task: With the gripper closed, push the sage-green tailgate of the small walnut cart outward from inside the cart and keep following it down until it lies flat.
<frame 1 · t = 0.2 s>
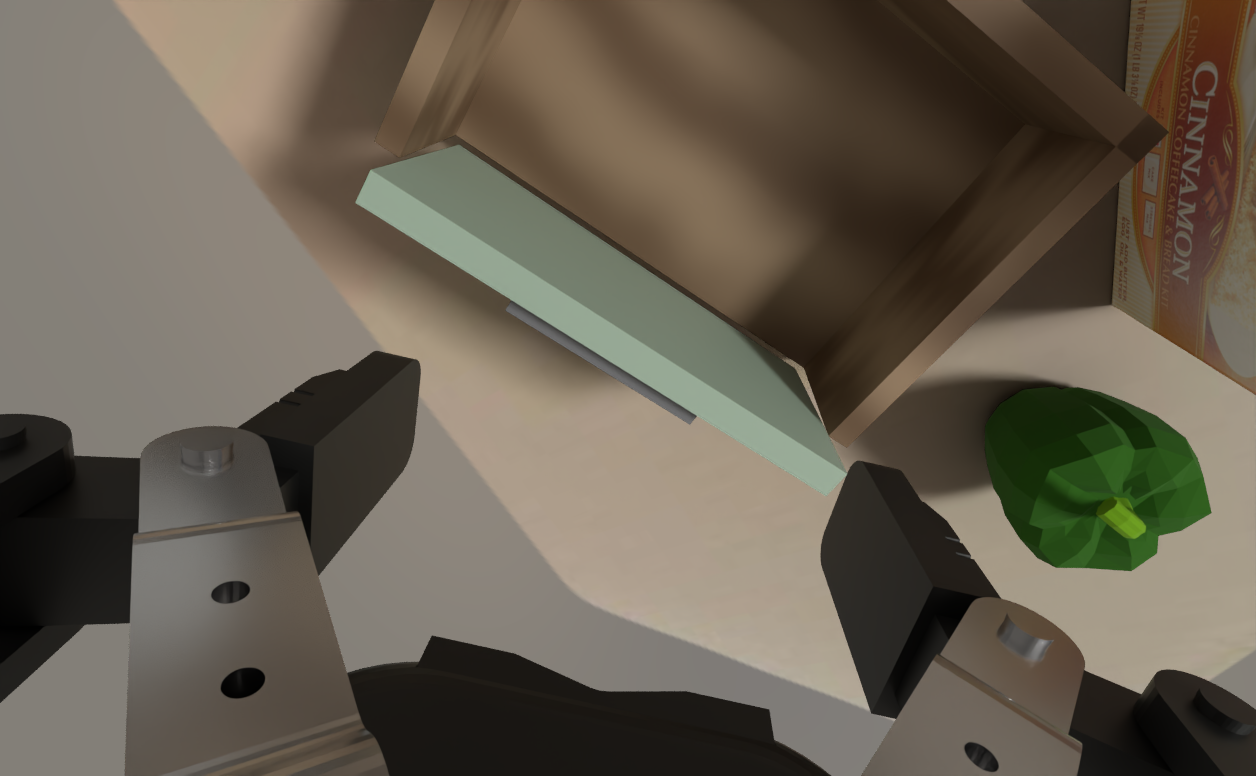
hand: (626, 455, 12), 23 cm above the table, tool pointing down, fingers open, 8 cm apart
bell pepper: (1038, 422, 37), on the table
cart: (729, 120, 30), on the table
tailgate: (621, 312, 27), point 8 cm above the table, hinge at -4.0°
coffeecake box: (1198, 140, 29), on the table
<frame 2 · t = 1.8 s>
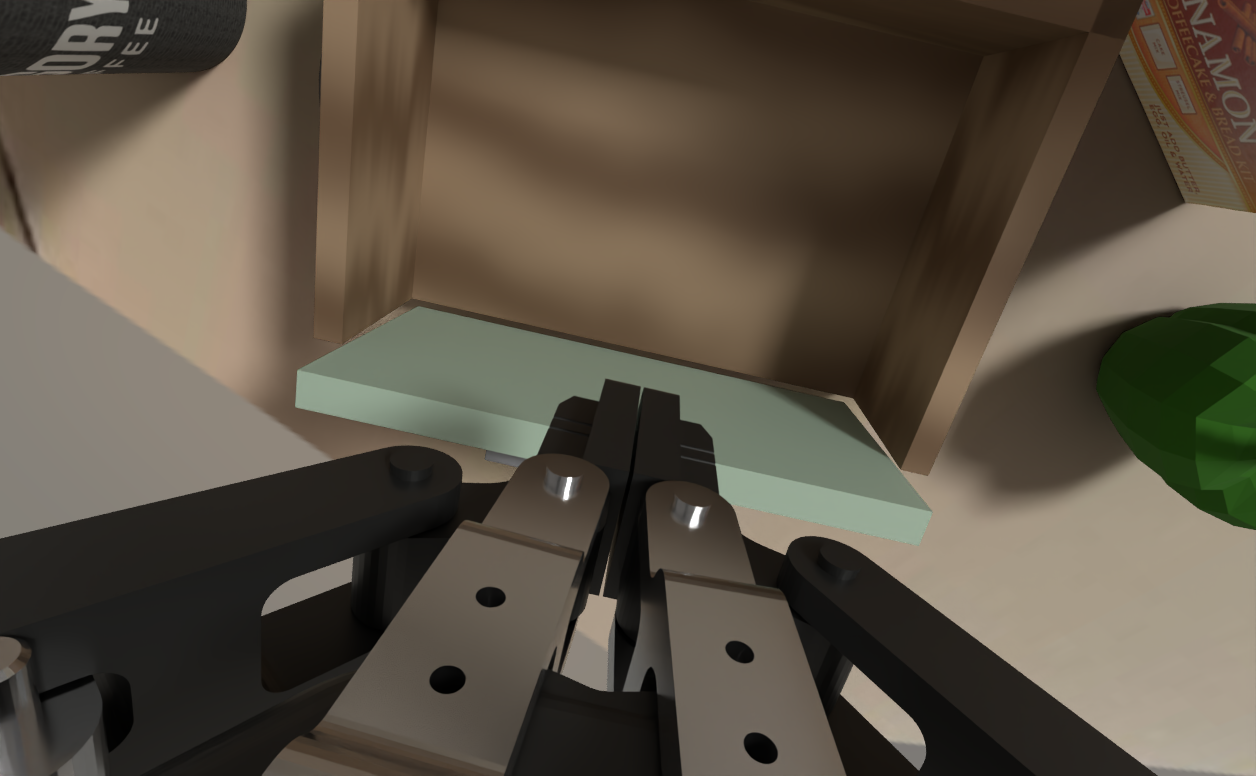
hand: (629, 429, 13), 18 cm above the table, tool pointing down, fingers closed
bell pepper: (1160, 362, 30), on the table
cart: (672, 180, 28), on the table
tailgate: (621, 414, 24), point 8 cm above the table, hinge at -4.0°
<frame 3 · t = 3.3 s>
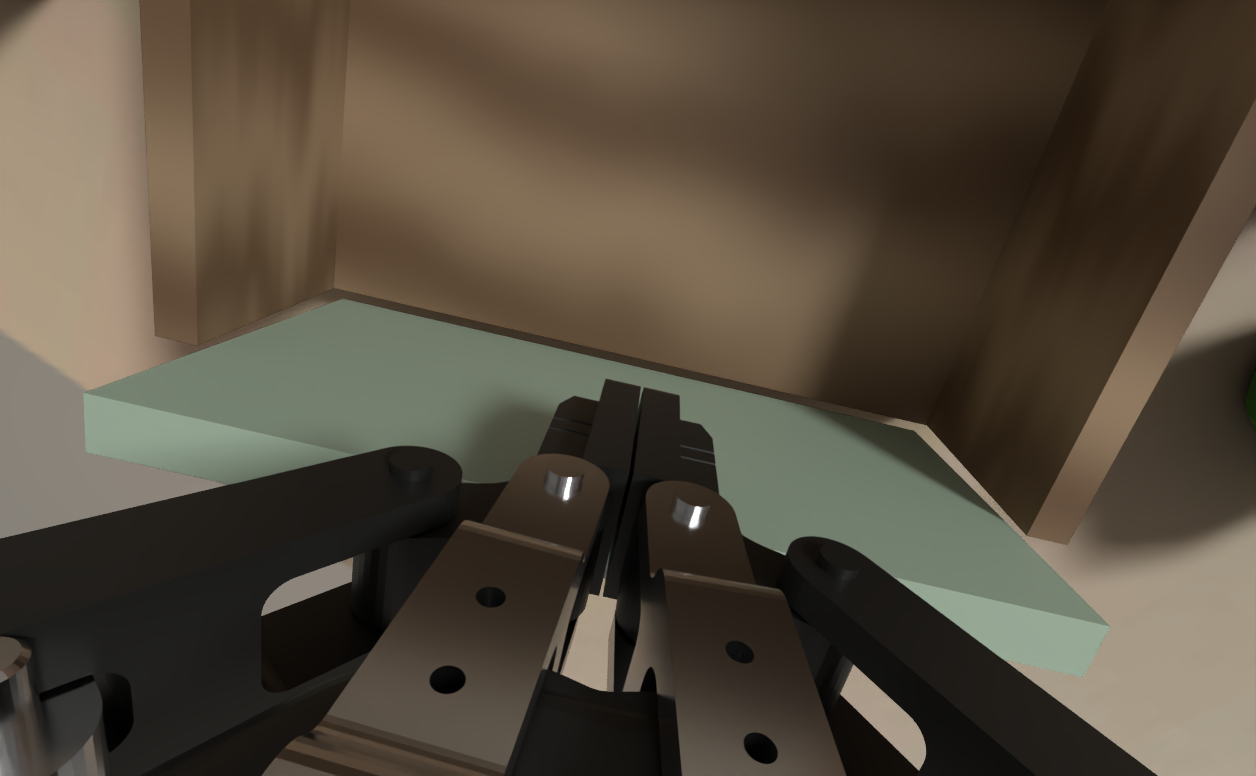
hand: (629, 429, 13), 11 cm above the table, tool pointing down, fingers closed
cart: (684, 131, 21), on the table
tailgate: (612, 452, 17), point 8 cm above the table, hinge at -3.0°, touching gripper
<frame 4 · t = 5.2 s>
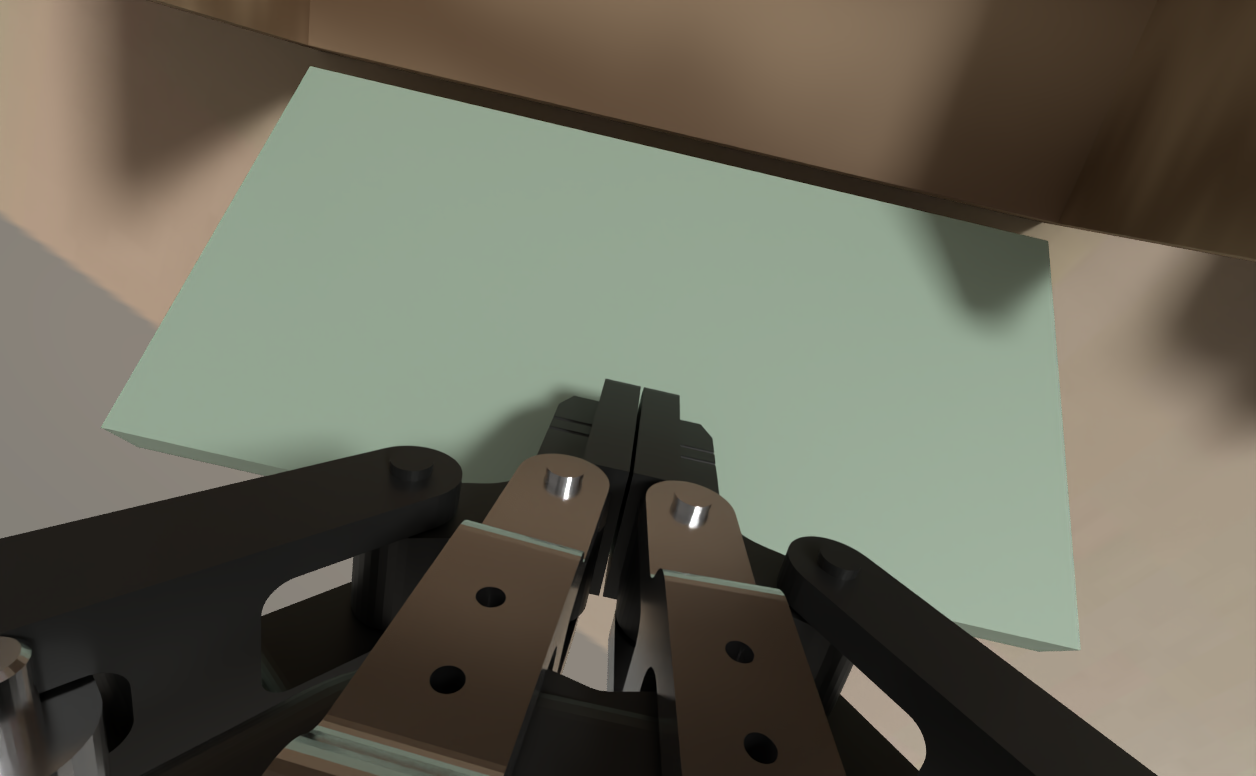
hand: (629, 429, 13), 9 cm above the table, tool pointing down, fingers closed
tailgate: (639, 340, 15), point 6 cm above the table, hinge at 45.9°, touching gripper
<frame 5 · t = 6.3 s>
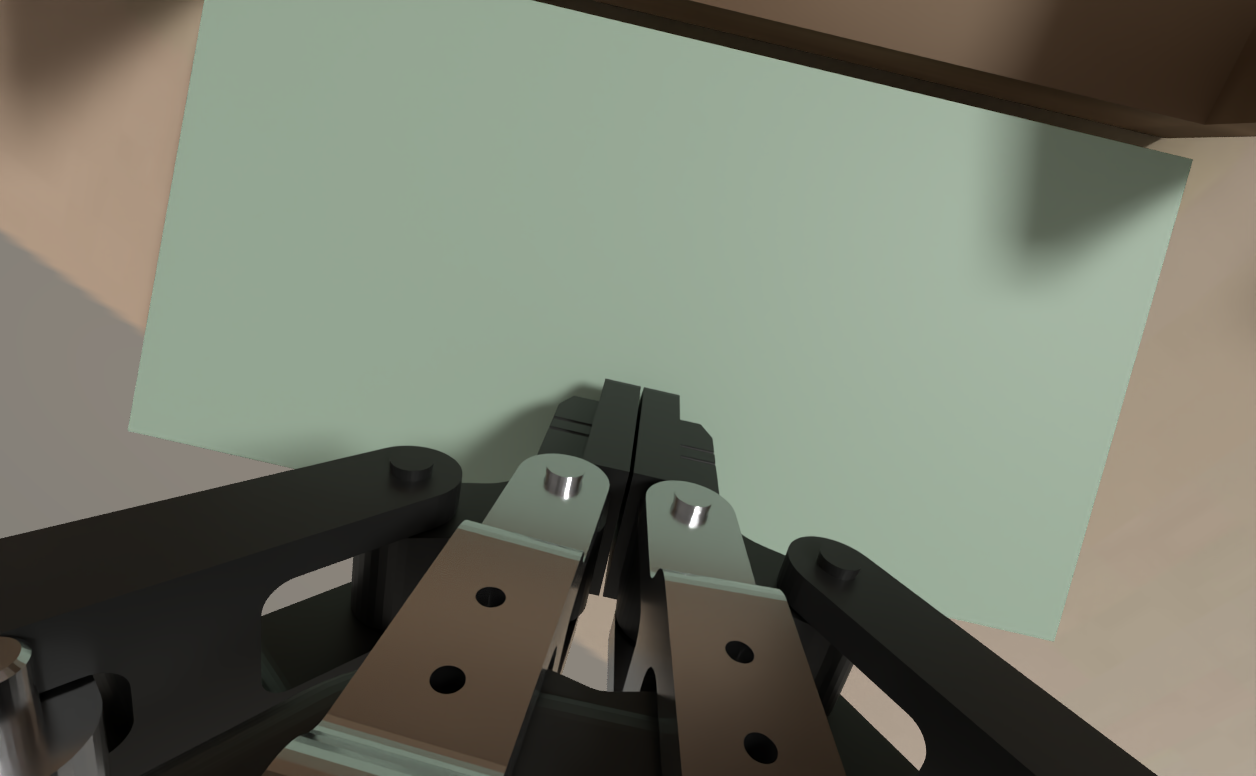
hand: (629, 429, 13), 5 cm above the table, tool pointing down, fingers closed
tailgate: (650, 300, 14), point 4 cm above the table, hinge at 73.4°, touching gripper
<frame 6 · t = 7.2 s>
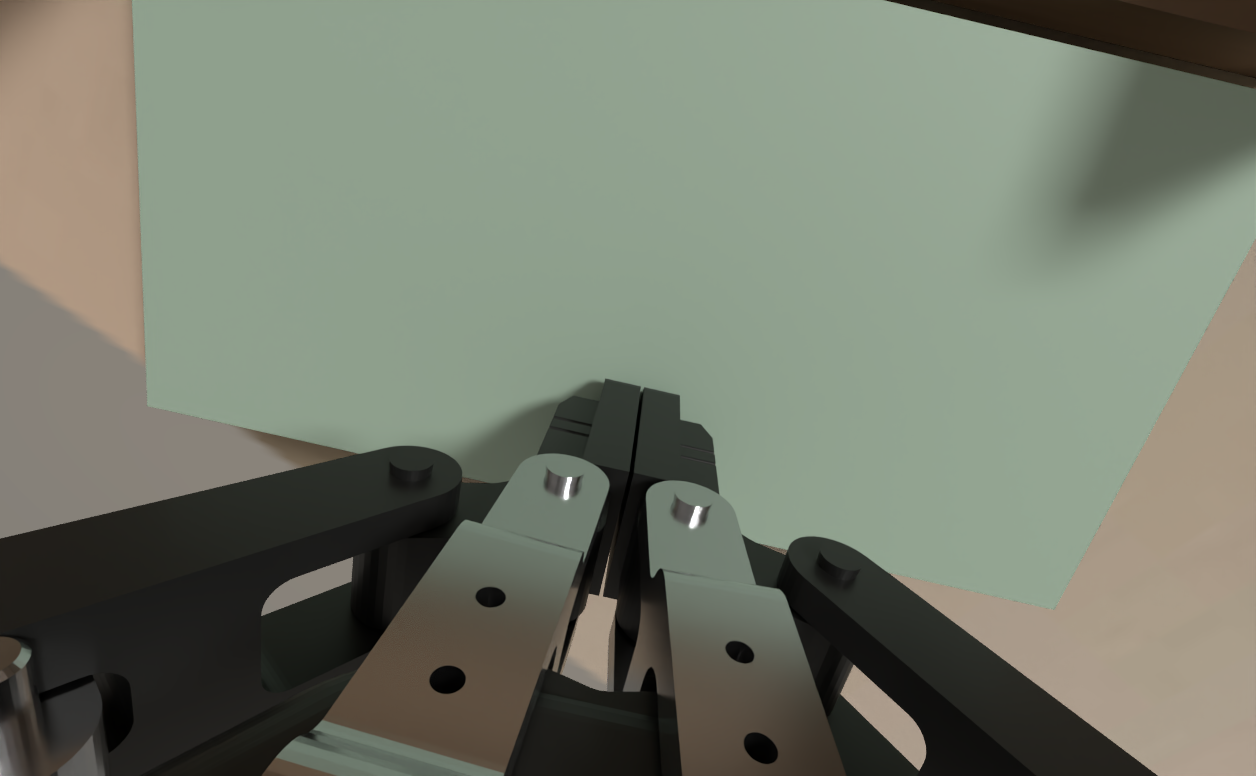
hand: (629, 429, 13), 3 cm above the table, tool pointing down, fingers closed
tailgate: (661, 266, 13), point 2 cm above the table, hinge at 88.4°, touching gripper
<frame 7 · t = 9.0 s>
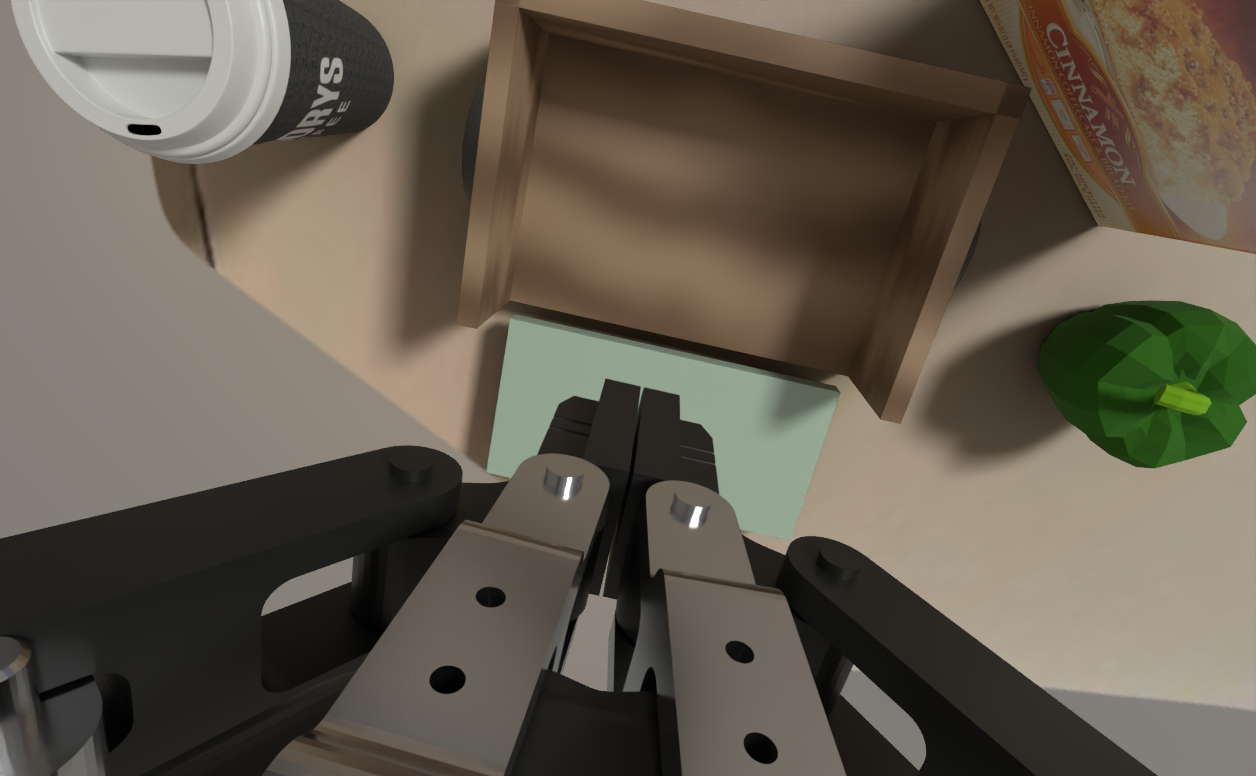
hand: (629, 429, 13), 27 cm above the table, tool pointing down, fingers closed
bell pepper: (1088, 349, 39), on the table
cart: (707, 210, 37), on the table
coffee cup: (339, 70, 37), on the table
tailgate: (656, 427, 40), point 2 cm above the table, hinge at 88.4°
coffeecake box: (1097, 72, 34), on the table
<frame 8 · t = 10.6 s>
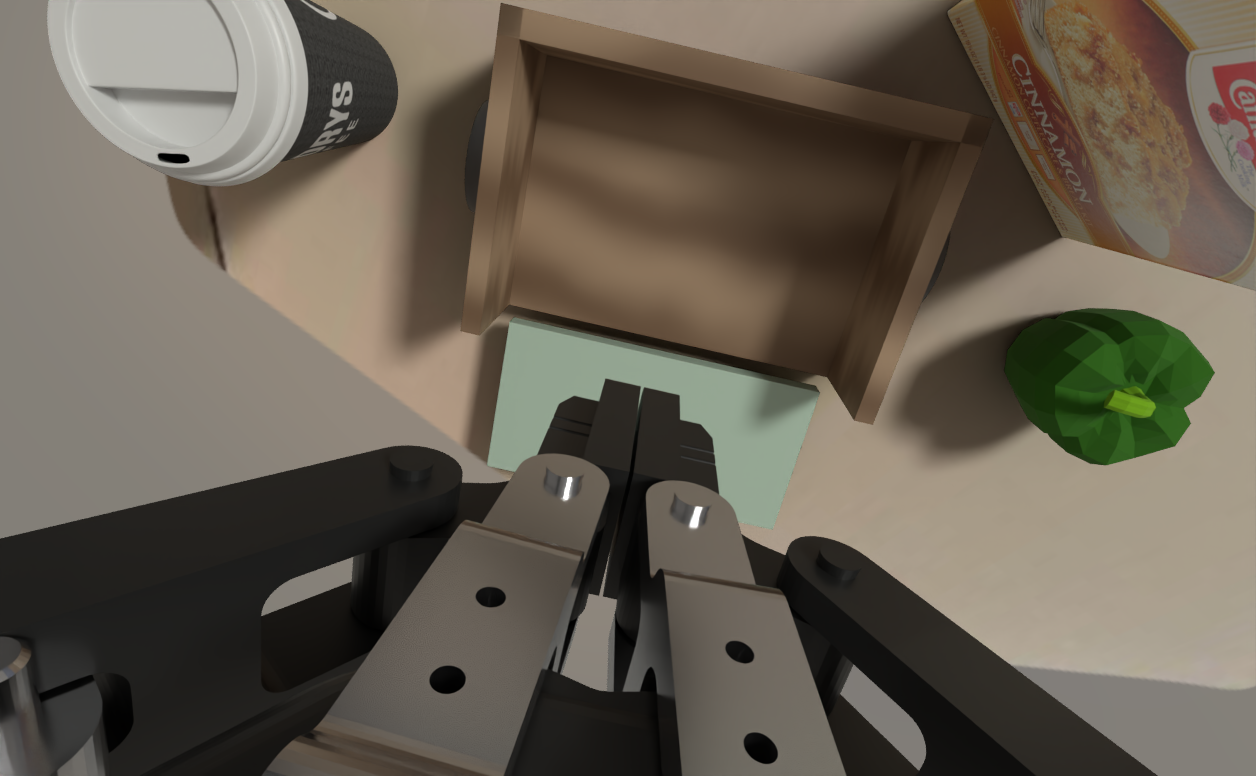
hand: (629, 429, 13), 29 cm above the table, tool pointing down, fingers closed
bell pepper: (1052, 351, 41), on the table
cart: (696, 219, 39), on the table
coffee cup: (345, 84, 38), on the table
tailgate: (647, 424, 42), point 2 cm above the table, hinge at 88.4°
coffeecake box: (1062, 93, 36), on the table
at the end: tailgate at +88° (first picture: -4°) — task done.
